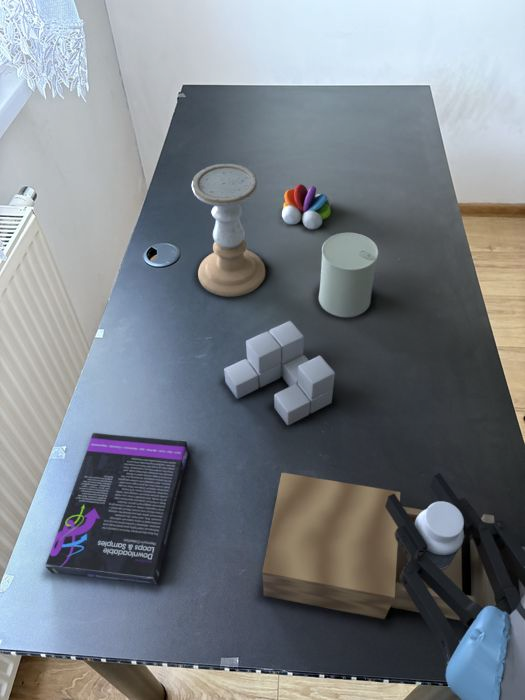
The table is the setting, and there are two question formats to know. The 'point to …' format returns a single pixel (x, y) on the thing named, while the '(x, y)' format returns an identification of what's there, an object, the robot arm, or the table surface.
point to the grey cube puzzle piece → (283, 373)
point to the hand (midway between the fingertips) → (412, 490)
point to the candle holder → (228, 231)
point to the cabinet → (332, 546)
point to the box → (120, 509)
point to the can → (347, 274)
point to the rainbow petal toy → (305, 207)
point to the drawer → (450, 577)
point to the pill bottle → (441, 532)
